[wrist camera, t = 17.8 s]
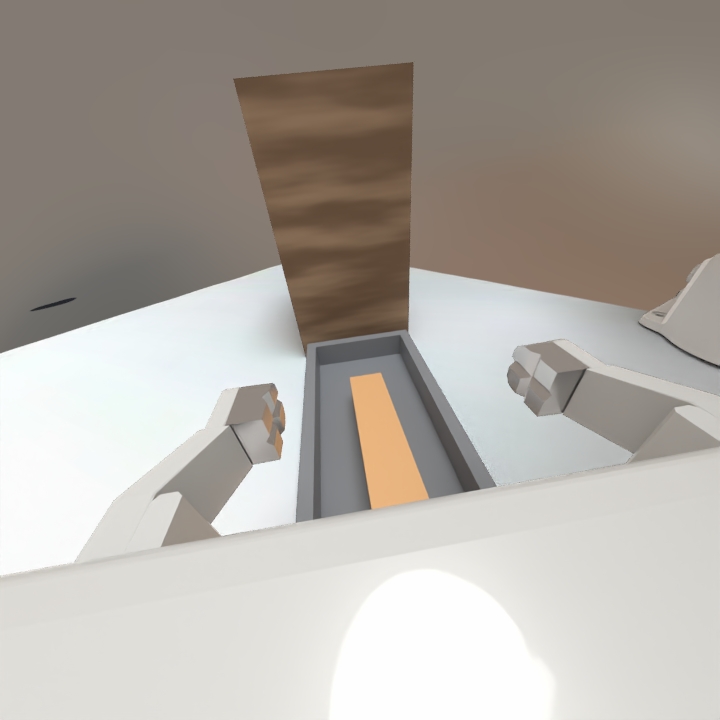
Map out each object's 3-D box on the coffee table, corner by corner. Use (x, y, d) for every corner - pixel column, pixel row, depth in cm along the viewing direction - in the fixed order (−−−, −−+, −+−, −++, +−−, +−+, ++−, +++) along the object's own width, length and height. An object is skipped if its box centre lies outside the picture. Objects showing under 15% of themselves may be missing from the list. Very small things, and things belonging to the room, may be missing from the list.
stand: (407, 342, 36) (413, 62, 20) (306, 357, 35) (233, 78, 20) (384, 298, 49) (376, 106, 33) (309, 308, 48) (267, 117, 33)
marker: (550, 889, 7) (584, 900, 5) (439, 920, 7) (443, 940, 5) (382, 397, 26) (380, 372, 25) (353, 402, 26) (349, 377, 25)
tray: (610, 766, 10) (664, 778, 8) (299, 843, 9) (272, 877, 7) (405, 353, 34) (406, 329, 31) (313, 367, 33) (307, 343, 31)
